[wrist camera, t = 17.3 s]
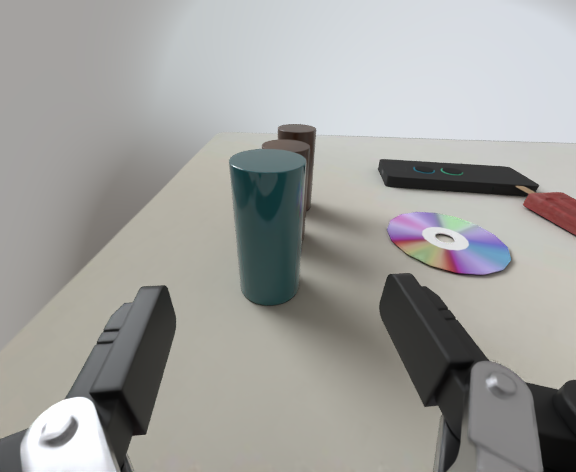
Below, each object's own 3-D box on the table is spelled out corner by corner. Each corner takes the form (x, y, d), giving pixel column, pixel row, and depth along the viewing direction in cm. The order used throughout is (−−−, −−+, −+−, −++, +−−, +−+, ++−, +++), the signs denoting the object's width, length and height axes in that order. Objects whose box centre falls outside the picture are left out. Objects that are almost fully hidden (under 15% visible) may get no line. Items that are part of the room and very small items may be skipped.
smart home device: (379, 157, 45) (508, 165, 44) (377, 168, 46) (503, 176, 45) (388, 175, 39) (542, 185, 37) (385, 187, 39) (536, 197, 38)
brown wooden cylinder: (260, 245, 26) (256, 150, 22) (269, 224, 30) (267, 138, 25) (301, 249, 26) (307, 153, 21) (306, 228, 29) (311, 141, 24)
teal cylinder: (232, 301, 20) (216, 168, 15) (249, 262, 24) (242, 146, 19) (294, 310, 20) (301, 175, 14) (302, 269, 24) (310, 151, 18)
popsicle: (528, 175, 38) (658, 238, 26) (522, 186, 39) (644, 253, 27) (498, 176, 38) (616, 241, 26) (492, 187, 39) (603, 255, 27)
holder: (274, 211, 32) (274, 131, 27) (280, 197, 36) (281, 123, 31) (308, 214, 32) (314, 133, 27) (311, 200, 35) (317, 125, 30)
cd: (372, 213, 32) (372, 212, 32) (462, 211, 33) (463, 211, 33) (418, 277, 23) (418, 276, 23) (542, 272, 24) (543, 271, 24)
